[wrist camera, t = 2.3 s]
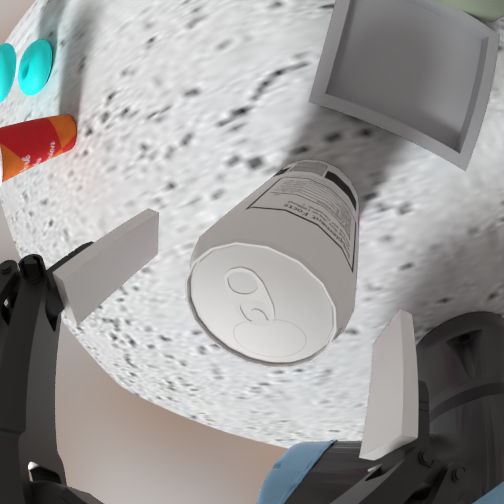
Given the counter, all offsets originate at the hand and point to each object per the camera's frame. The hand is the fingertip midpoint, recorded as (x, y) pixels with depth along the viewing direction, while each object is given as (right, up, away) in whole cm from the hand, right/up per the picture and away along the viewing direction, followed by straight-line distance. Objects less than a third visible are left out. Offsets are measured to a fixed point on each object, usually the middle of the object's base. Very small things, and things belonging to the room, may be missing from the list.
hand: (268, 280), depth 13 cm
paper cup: (-27, +19, +17) cm, 37 cm away
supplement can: (+5, +6, +11) cm, 13 cm away
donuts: (-35, +32, +13) cm, 49 cm away
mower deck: (+13, +23, -3) cm, 27 cm away
